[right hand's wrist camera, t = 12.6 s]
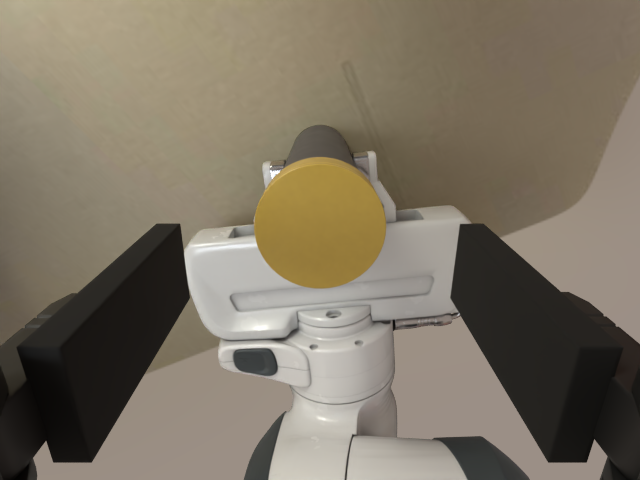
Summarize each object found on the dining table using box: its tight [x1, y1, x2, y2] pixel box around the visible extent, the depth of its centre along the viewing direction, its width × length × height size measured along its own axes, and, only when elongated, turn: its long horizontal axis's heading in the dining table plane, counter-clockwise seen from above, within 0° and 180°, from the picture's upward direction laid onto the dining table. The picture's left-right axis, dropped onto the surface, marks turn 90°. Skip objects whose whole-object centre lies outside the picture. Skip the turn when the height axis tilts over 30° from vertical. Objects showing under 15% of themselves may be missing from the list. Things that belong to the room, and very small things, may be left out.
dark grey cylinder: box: [284, 125, 356, 168], centre depth 25 cm, size 5×5×18 cm
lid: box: [254, 157, 386, 289], centre depth 17 cm, size 5×5×2 cm
